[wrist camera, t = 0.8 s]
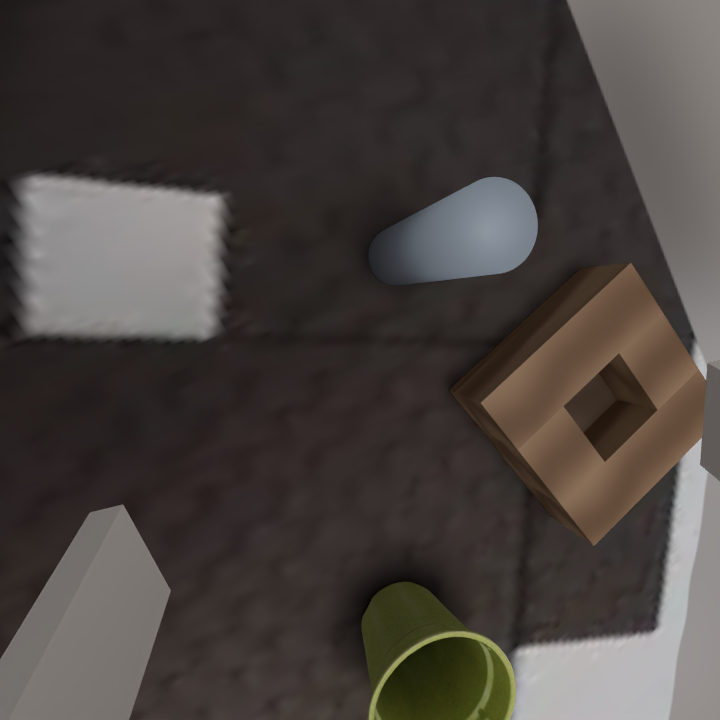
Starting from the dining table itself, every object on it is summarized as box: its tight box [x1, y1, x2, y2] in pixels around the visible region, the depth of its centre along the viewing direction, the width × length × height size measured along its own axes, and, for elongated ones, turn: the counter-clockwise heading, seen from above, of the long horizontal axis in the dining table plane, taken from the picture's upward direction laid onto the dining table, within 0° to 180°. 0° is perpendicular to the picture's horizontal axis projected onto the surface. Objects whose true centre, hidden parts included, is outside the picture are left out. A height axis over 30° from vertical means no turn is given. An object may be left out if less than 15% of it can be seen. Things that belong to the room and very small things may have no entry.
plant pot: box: [361, 582, 516, 720], centre depth 33 cm, size 9×9×9 cm
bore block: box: [449, 263, 706, 546], centre depth 36 cm, size 14×14×5 cm
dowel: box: [368, 177, 538, 286], centre depth 28 cm, size 4×4×14 cm
